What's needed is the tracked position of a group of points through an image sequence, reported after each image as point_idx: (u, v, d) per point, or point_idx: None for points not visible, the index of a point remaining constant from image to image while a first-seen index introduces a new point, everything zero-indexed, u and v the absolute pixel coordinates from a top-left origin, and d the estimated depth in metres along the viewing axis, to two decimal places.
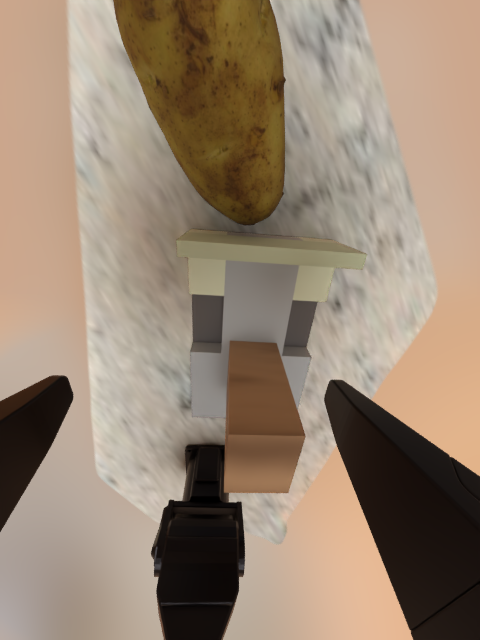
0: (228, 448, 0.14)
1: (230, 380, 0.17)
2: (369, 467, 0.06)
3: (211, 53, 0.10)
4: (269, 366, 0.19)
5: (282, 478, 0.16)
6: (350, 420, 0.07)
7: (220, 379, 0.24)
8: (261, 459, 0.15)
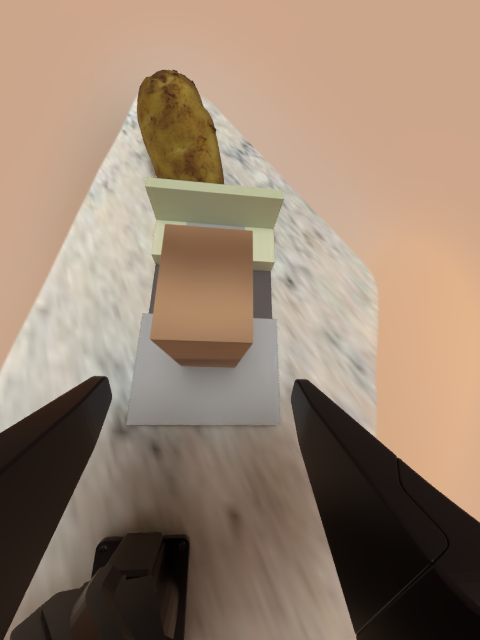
0: (163, 244, 0.12)
1: None
2: (323, 468, 0.06)
3: (177, 101, 0.21)
4: None
5: (239, 306, 0.11)
6: (309, 420, 0.07)
7: None
8: (205, 266, 0.11)
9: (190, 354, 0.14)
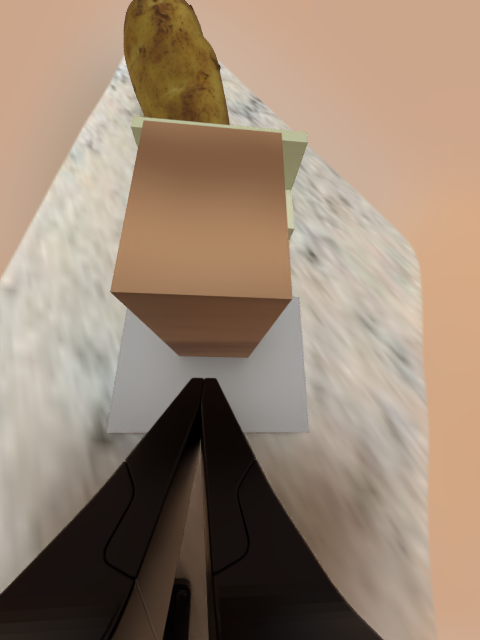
0: (140, 148, 0.07)
1: None
2: (202, 470, 0.06)
3: (171, 23, 0.17)
4: None
5: (265, 240, 0.06)
6: (201, 420, 0.07)
7: None
8: (207, 180, 0.07)
9: (187, 332, 0.09)
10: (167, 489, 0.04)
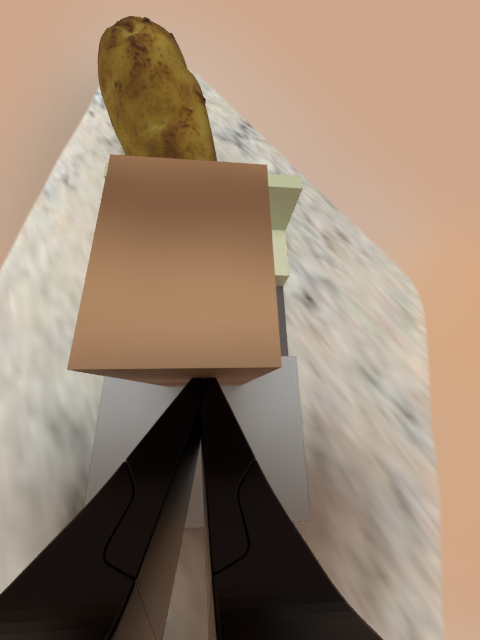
0: (105, 188, 0.06)
1: None
2: (202, 470, 0.06)
3: (149, 56, 0.15)
4: None
5: (250, 296, 0.06)
6: (200, 420, 0.07)
7: (152, 412, 0.14)
8: (183, 225, 0.06)
9: (170, 379, 0.09)
10: (167, 489, 0.04)
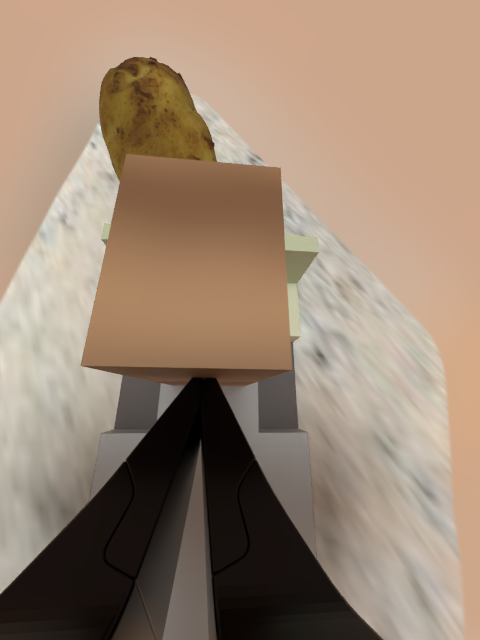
0: (121, 187, 0.06)
1: None
2: (202, 470, 0.06)
3: (154, 103, 0.14)
4: None
5: (262, 298, 0.06)
6: (200, 420, 0.07)
7: None
8: (196, 225, 0.06)
9: (177, 378, 0.09)
10: (167, 489, 0.04)
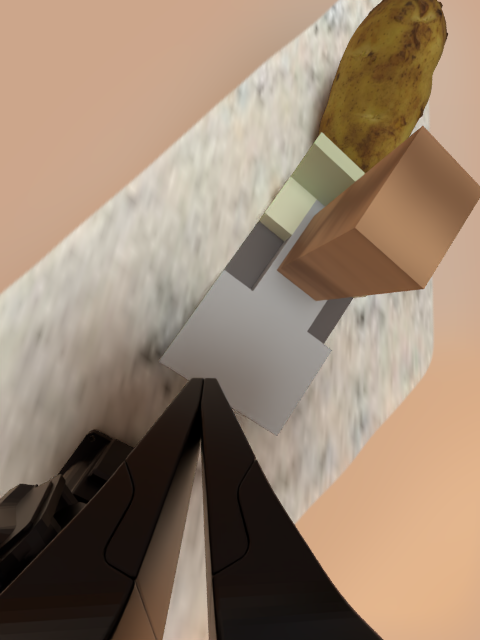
0: (410, 146, 0.11)
1: (358, 181, 0.15)
2: (202, 470, 0.06)
3: (416, 55, 0.16)
4: None
5: (432, 251, 0.11)
6: None
7: (231, 323, 0.19)
8: (429, 195, 0.11)
9: (329, 264, 0.14)
10: (167, 489, 0.04)
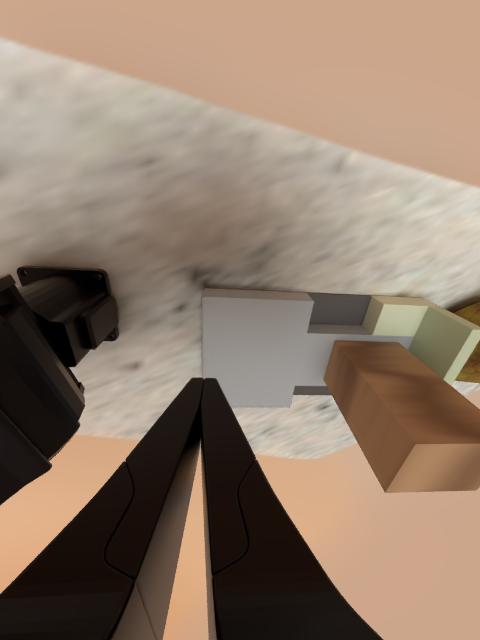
0: None
1: (448, 385, 0.17)
2: (202, 470, 0.06)
3: None
4: None
5: (416, 485, 0.14)
6: (201, 420, 0.07)
7: (269, 332, 0.20)
8: (460, 468, 0.13)
9: (367, 405, 0.16)
10: (167, 489, 0.04)
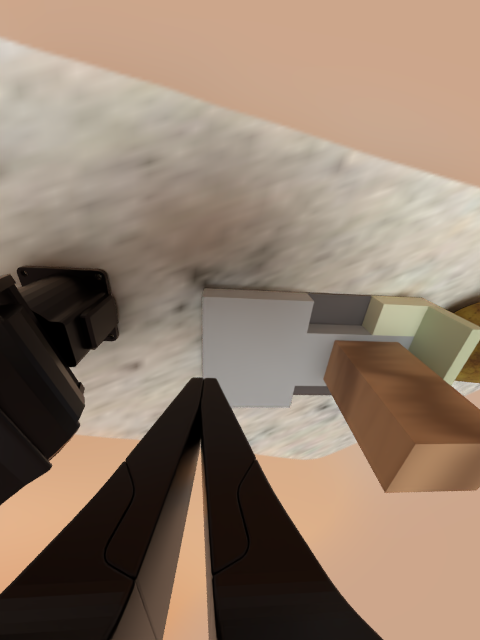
0: None
1: (448, 385, 0.17)
2: (202, 470, 0.06)
3: None
4: None
5: (416, 486, 0.14)
6: (200, 420, 0.07)
7: (269, 332, 0.20)
8: (460, 468, 0.13)
9: (367, 405, 0.16)
10: (167, 489, 0.04)
